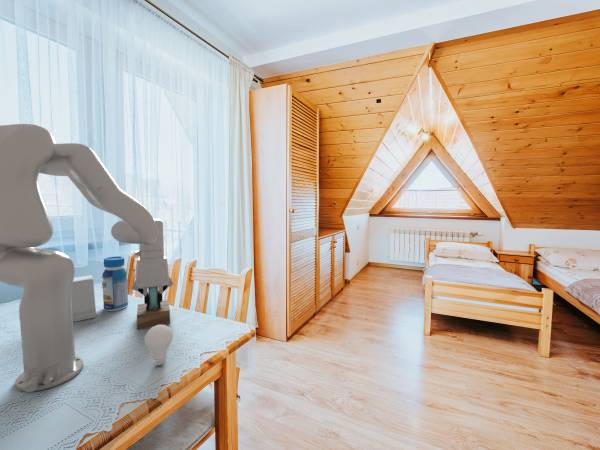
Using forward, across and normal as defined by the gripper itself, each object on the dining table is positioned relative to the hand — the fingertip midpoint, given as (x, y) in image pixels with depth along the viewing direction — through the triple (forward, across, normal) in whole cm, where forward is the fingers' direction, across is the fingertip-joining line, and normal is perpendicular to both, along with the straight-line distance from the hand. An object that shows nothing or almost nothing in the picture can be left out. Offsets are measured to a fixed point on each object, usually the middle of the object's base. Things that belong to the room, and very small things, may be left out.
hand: (153, 304), depth 101 cm
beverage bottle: (+6, -13, +19) cm, 24 cm away
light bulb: (+6, +1, -30) cm, 31 cm away
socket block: (+6, 0, 0) cm, 6 cm away
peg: (+4, 0, 0) cm, 4 cm away
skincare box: (+6, -23, +13) cm, 27 cm away
